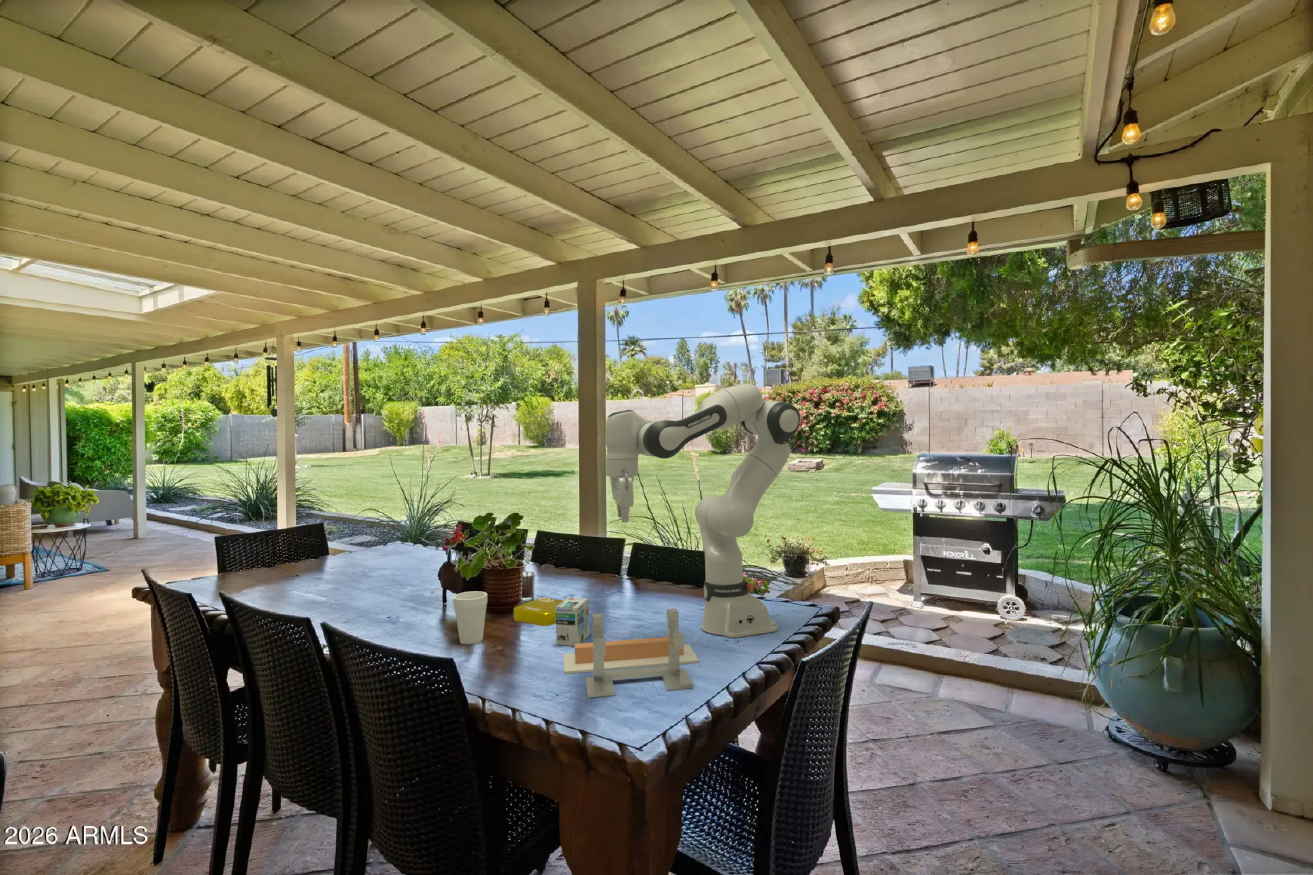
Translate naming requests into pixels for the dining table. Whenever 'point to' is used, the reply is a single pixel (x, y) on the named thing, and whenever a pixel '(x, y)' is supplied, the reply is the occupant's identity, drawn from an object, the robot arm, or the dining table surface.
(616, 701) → the dining table surface
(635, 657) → the rail
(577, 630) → the light bulb box
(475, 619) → the foam cup
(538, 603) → the element tile
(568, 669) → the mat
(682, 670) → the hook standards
